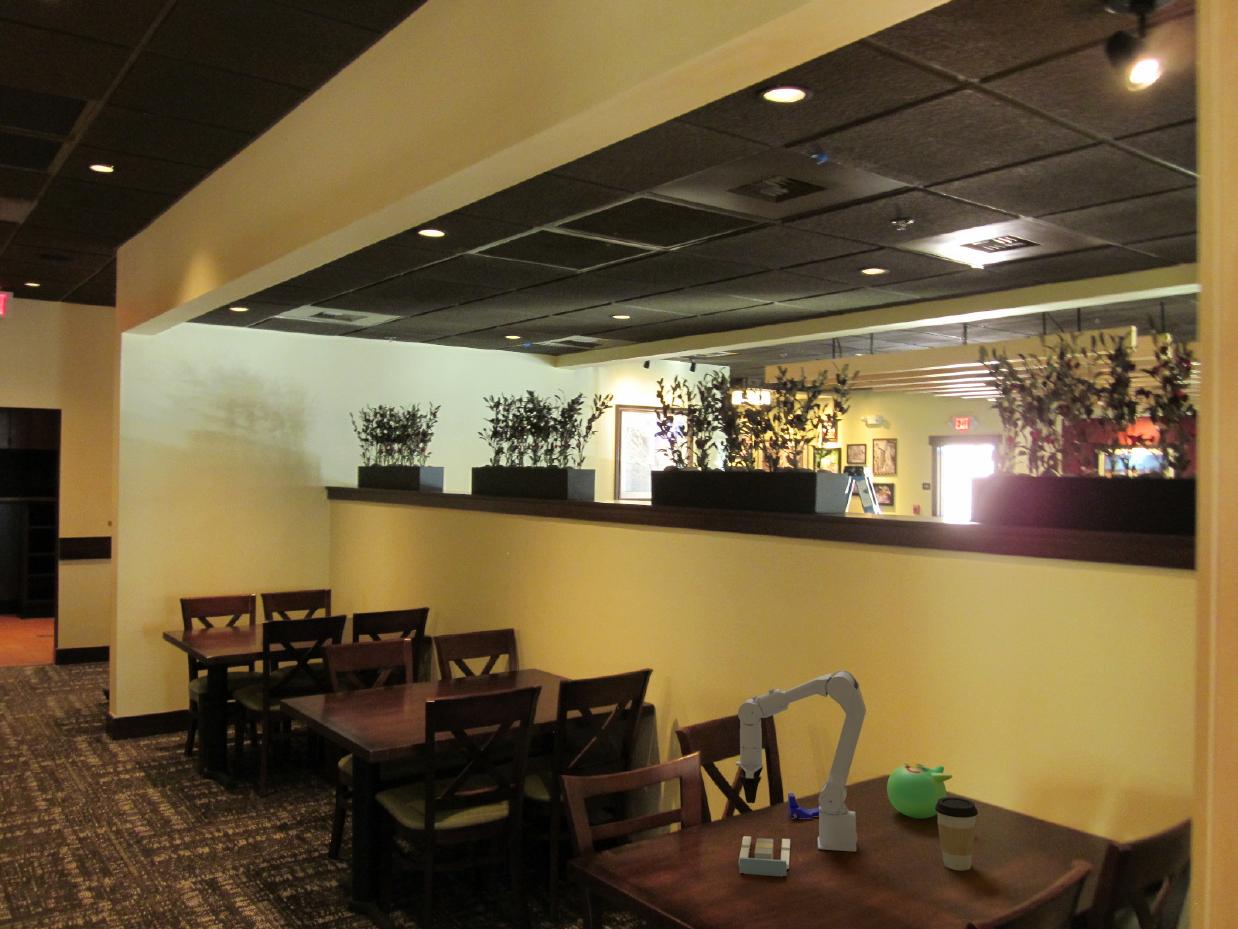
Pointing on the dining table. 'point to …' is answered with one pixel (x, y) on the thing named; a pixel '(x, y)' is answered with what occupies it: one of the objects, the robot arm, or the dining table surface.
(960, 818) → the coffee cup
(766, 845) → the banded cream box
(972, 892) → the dining table surface
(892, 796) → the toy bird
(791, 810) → the navy blue l-shaped piece
